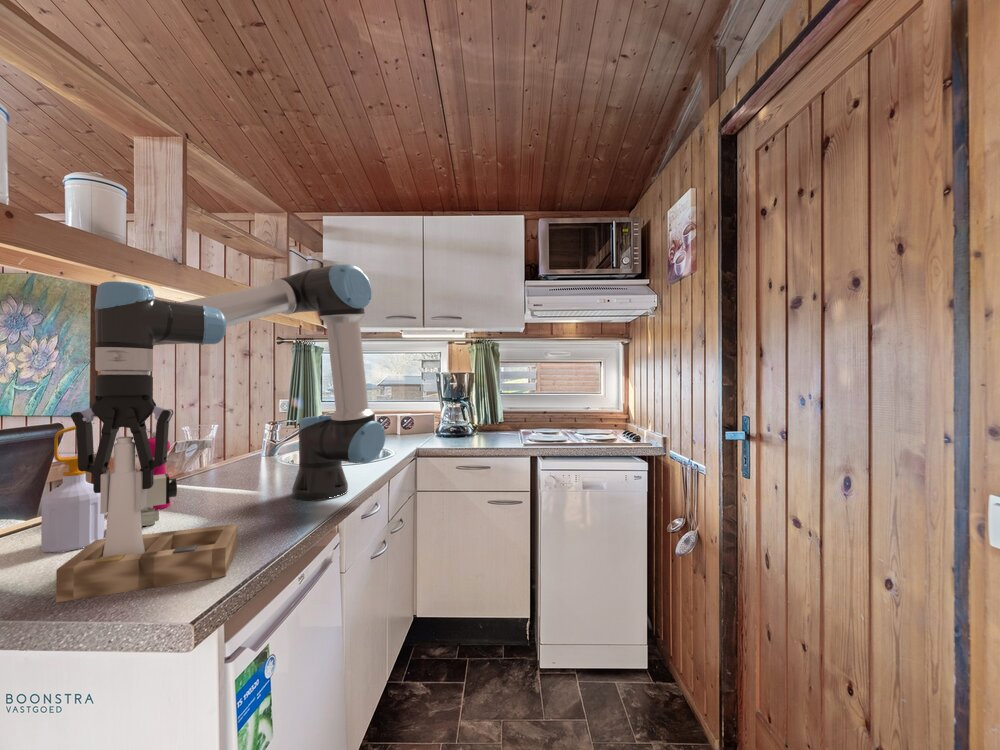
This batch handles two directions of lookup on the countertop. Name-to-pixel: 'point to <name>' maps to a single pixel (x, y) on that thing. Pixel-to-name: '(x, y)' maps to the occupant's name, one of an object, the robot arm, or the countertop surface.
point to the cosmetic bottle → (123, 504)
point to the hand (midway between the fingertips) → (124, 509)
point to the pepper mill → (159, 469)
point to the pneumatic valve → (158, 497)
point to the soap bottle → (71, 509)
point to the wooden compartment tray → (149, 563)
